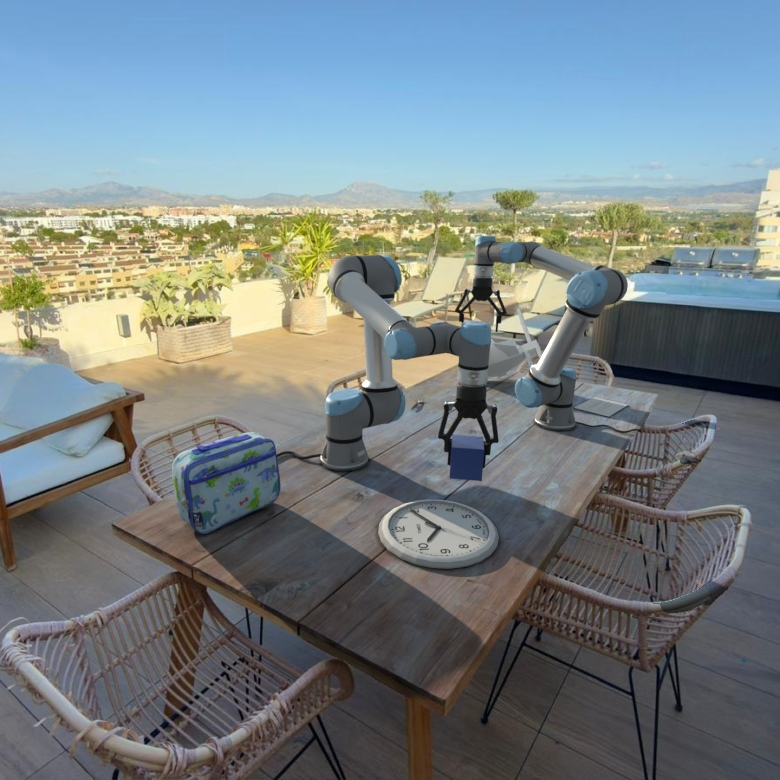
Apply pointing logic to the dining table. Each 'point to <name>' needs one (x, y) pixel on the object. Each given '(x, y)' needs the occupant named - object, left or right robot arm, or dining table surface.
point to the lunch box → (225, 480)
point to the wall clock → (438, 534)
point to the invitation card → (601, 406)
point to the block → (467, 457)
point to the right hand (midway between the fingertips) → (479, 330)
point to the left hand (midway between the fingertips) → (466, 464)
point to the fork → (418, 402)
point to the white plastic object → (511, 353)
